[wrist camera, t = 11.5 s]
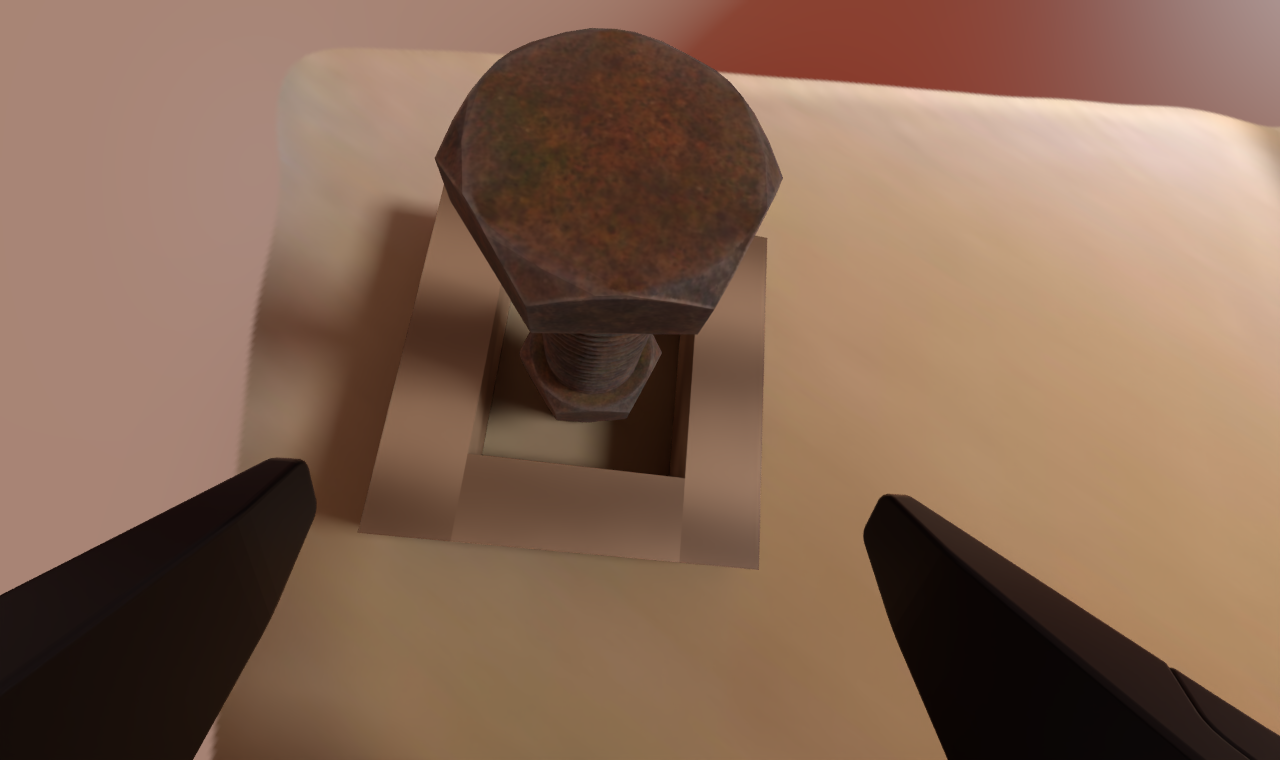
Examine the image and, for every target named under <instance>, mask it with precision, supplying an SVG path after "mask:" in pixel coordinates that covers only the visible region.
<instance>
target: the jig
mask: <svg viewBox="0 0 1280 760" xmlns="http://www.w3.org/2000/svg"><path fill="white" fill-rule="evenodd" d="M766 262H767V238H764V237H759V236H754V238H753V240H752V242H751V244H750V246H749V248H748V250H747V252H746V254H745V256H744V257H743V259H742V261H741V263H740V265H739V267H738V269H737V271H736V272H735V274H734V276H733V278H732V280H731V281H730V283H729V285H728V287H727V288H726V290H725V292H724V294H723V295H722V297H721V299H720V301H719V302H718V304H717V306H716V308H715V309H714V311H713V312H712V314H711V315H710V317H709V318H708V320H707V321H706V323H705V324H704V326H703V327H702V329H701V330H700V332H699V333H698V335H696V334H680V341H679V354H678V367H677V380H676V393H675V406H674V418H673V431H672V444H671V457H670V470H669V476H661V475H652V474H643V473H634V472H626V471H617V470H608V469H599V468H591V467H582V466H573V465H564V464H556V463H547V462H538V461H529V460H521V459H512V458H503V457H494V456H485V455H482V451H483V445H484V440H485V435H486V429H487V424H488V419H489V413H490V408H491V403H492V397H493V392H494V387H495V381H496V376H497V371H498V365H499V360H500V355H501V349H502V344H503V339H504V333H505V328H506V323H507V317H508V312H509V307H510V301H511V300H510V298H509V296H508V295H507V293H506V292H505V290H504V288H503V287H502V285H501V283H500V282H499V280H498V278H497V277H496V275H495V273H494V272H493V270H492V269H491V267H490V265H489V264H488V262H487V260H486V259H485V257H484V255H483V254H482V252H481V251H480V249H479V247H478V246H477V244H476V242H475V241H474V239H473V237H472V236H471V234H470V232H469V231H468V229H467V228H466V226H465V224H464V223H463V221H462V219H461V218H460V216H459V214H458V213H457V211H456V209H455V208H454V206H453V205H452V203H451V201H450V199H449V196H448V194H447V191H446V188H445V185H444V187H443V191H442V195H441V199H440V203H439V207H438V211H437V215H436V219H435V223H434V227H433V231H432V235H431V239H430V243H429V247H428V251H427V255H426V260H425V264H424V268H423V272H422V276H421V280H420V284H419V288H418V292H417V296H416V300H415V304H414V308H413V312H412V316H411V320H410V324H409V328H408V332H407V336H406V340H405V344H404V348H403V352H402V356H401V360H400V364H399V368H398V372H397V376H396V380H395V384H394V388H393V392H392V396H391V400H390V405H389V409H388V413H387V417H386V421H385V425H384V429H383V433H382V437H381V441H380V445H379V449H378V453H377V457H376V461H375V465H374V469H373V473H372V477H371V481H370V485H369V489H368V493H367V497H366V501H365V505H364V509H363V513H362V517H361V521H360V525H359V529H358V533H367V534H378V535H389V536H399V537H410V538H421V539H432V540H443V541H453V542H464V543H475V544H486V545H497V546H507V547H518V548H529V549H540V550H551V551H561V552H572V553H583V554H594V555H605V556H615V557H626V558H637V559H648V560H658V561H669V562H680V563H691V564H702V565H712V566H723V567H734V568H745V569H756V570H759V542H760V502H761V462H762V422H763V382H764V342H765V302H766Z"/></svg>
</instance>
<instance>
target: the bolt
mask: <svg viewBox="0 0 1280 760" xmlns="http://www.w3.org/2000/svg"><path fill="white" fill-rule="evenodd" d="M435 160H436V163H437V166H438V169H439V171H440V174H441V177H442V180H443V182H444V185H445V188H446V191H447V194H448V196H449V199H450V201H451V203H452V205H453V206H454V208H455V209H456V211H457V213H458V214H459V216H460V218H461V219H462V221H463V223H464V224H465V226H466V228H467V229H468V231H469V232H470V234H471V236H472V237H473V239H474V241H475V242H476V244H477V246H478V247H479V249H480V251H481V252H482V254H483V255H484V257H485V259H486V260H487V262H488V264H489V265H490V267H491V269H492V270H493V272H494V273H495V275H496V277H497V278H498V280H499V282H500V283H501V285H502V287H503V288H504V290H505V292H506V293H507V295H508V296H509V298H510V300H511V301H512V303H513V305H514V306H515V308H516V310H517V311H518V313H519V314H520V316H521V318H522V319H523V321H524V323H525V324H526V326H527V328H528V329H529V331H530V333H529V335H528V336H527V338H526V340H525V342H524V344H523V346H522V348H521V350H520V352H519V354H520V357H521V360H522V363H523V365H524V367H525V368H526V370H527V372H528V374H529V376H530V377H531V379H532V381H533V383H534V384H535V386H536V388H537V389H538V391H539V393H540V395H541V396H542V398H543V399H544V401H545V403H546V404H547V406H548V408H549V409H550V411H551V412H552V414H553V415H554V417H555V418H556V420H565V421H579V422H596V421H608V420H618V419H626V418H627V416H628V415H629V413H630V411H631V409H632V407H633V406H634V404H635V402H636V400H637V398H638V397H639V395H640V393H641V391H642V389H643V387H644V386H645V384H646V382H647V380H648V378H649V376H650V374H651V373H652V371H653V369H654V367H655V365H656V363H657V361H658V359H659V358H660V356H661V354H662V352H661V350H660V348H659V346H658V344H657V342H656V340H655V338H654V336H653V334H696V335H698V333H699V332H700V330H701V329H702V327H703V326H704V324H705V323H706V321H707V320H708V318H709V317H710V315H711V314H712V312H713V311H714V309H715V308H716V306H717V304H718V302H719V301H720V299H721V297H722V295H723V294H724V292H725V290H726V288H727V287H728V285H729V283H730V281H731V280H732V278H733V276H734V274H735V272H736V271H737V269H738V267H739V265H740V263H741V261H742V259H743V257H744V256H745V254H746V252H747V250H748V248H749V246H750V244H751V242H752V240H753V238H754V236H755V234H756V233H757V231H758V229H759V227H760V225H761V223H762V221H763V219H764V217H765V215H766V213H767V211H768V209H769V207H770V205H771V203H772V201H773V199H774V197H775V195H776V193H777V191H778V188H779V186H780V184H781V181H782V179H783V177H782V174H781V171H780V169H779V166H778V164H777V161H776V159H775V156H774V153H773V151H772V148H771V146H770V143H769V141H768V139H767V137H766V135H765V133H764V131H763V129H762V127H761V125H760V123H759V121H758V119H757V117H756V116H755V114H754V112H753V111H752V109H751V108H750V107H749V105H748V104H747V102H746V101H745V100H744V98H743V97H742V96H741V94H740V93H739V92H738V91H737V90H736V89H735V87H734V86H733V85H732V84H731V83H730V82H729V81H728V80H727V79H726V78H724V77H723V76H722V75H721V74H719V73H718V72H717V71H716V70H714V69H712V68H711V67H709V66H707V65H705V64H704V63H702V62H700V61H698V60H696V59H695V58H693V57H691V56H689V55H687V54H686V53H684V52H682V51H680V50H678V49H676V48H674V47H672V46H670V45H668V44H666V43H664V42H662V41H660V40H657V39H654V38H651V37H647V36H645V35H642V34H639V33H636V32H631V31H625V30H618V29H598V28H597V29H596V28H589V29H583V30H576V31H570V32H565V33H561V34H557V35H554V36H551V37H547V38H544V39H540V40H537V41H533V42H531V43H528V44H526V45H524V46H521V47H519V48H517V49H515V50H513V51H510V52H509V53H508V54H506V55H505V56H504V57H502V58H501V59H499V60H498V61H497V62H496V63H495V64H494V65H493V66H492V67H491V68H490V69H489V70H488V71H487V72H486V73H485V74H484V75H483V76H482V77H481V79H480V80H479V81H478V82H477V84H476V85H475V86H474V87H473V88H472V90H471V91H470V92H469V94H468V95H467V97H466V99H465V100H464V102H463V104H462V105H461V107H460V109H459V110H458V112H457V114H456V115H455V117H454V119H453V120H452V122H451V125H450V127H449V129H448V131H447V133H446V135H445V137H444V140H443V142H442V144H441V146H440V148H439V150H438V152H437V154H436V157H435Z"/></svg>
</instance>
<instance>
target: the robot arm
mask: <svg viewBox="0 0 1280 760" xmlns="http://www.w3.org/2000/svg"><path fill="white" fill-rule="evenodd" d="M315 513H316V497H315V493H314V489H313V485H312V481H311V476H310V472H309V468H308V465H307V464H306V462H305V461H303V460H301V459H292V458H270V459H268V460H266V461H263V462H261V463H260V464H258V465H256V466H254V467H252V468H250V469H248V470H246V471H244V472H242V473H240V474H238V475H236V476H234V477H232V478H230V479H228V480H226V481H224V482H222V483H220V484H218V485H216V486H214V487H212V488H210V489H208V490H207V491H204V492H202V493H201V494H199V495H197V496H195V497H193V498H191V499H189V500H187V501H185V502H183V503H181V504H179V505H177V506H175V507H173V508H171V509H169V510H167V511H165V512H163V513H161V514H159V515H157V516H155V517H153V518H151V519H149V520H148V521H145V522H144V523H142V524H140V525H138V526H136V527H134V528H132V529H130V530H128V531H126V532H124V533H122V534H120V535H118V536H116V537H114V538H112V539H110V540H108V541H106V542H105V543H102V544H100V545H98V546H96V547H94V548H92V549H90V550H89V551H87V552H85V553H83V554H81V555H79V556H77V557H75V558H73V559H71V560H69V561H67V562H65V563H63V564H61V565H59V566H57V567H55V568H53V569H51V570H49V571H47V572H45V573H43V574H41V575H39V576H37V577H35V578H33V579H31V580H29V581H27V582H25V583H24V584H21V585H20V586H18V587H16V588H14V589H12V590H10V591H8V592H6V593H4V594H2V595H0V760H193V759H194V757H195V755H196V753H197V752H198V750H199V748H200V746H201V744H202V743H203V740H204V739H205V737H206V735H207V734H208V732H209V730H210V728H211V726H212V725H213V723H214V721H215V719H216V717H217V716H218V714H219V712H220V710H221V708H222V707H223V705H224V703H225V701H226V699H227V698H228V696H229V694H230V692H231V690H232V689H233V687H234V685H235V683H236V681H237V680H238V678H239V676H240V674H241V672H242V671H243V669H244V667H245V665H246V663H247V662H248V660H249V658H250V656H251V654H252V653H253V651H254V649H255V647H256V645H257V644H258V642H259V640H260V638H261V636H262V634H263V633H264V631H265V629H266V627H267V625H268V623H269V621H270V619H271V617H272V615H273V613H274V611H275V608H276V606H277V604H278V602H279V600H280V597H281V595H282V592H283V590H284V588H285V585H286V583H287V581H288V578H289V576H290V574H291V571H292V569H293V567H294V564H295V562H296V559H297V557H298V555H299V552H300V550H301V548H302V545H303V543H304V541H305V538H306V536H307V533H308V531H309V529H310V526H311V524H312V522H313V519H314V517H315ZM863 537H864V544H865V547H866V550H867V553H868V556H869V559H870V562H871V566H872V569H873V572H874V575H875V578H876V581H877V584H878V587H879V591H880V594H881V597H882V600H883V603H884V606H885V609H886V612H887V615H888V618H889V621H890V624H891V627H892V630H893V632H894V635H895V637H896V640H897V642H898V645H899V647H900V649H901V652H902V654H903V656H904V659H905V661H906V663H907V666H908V668H909V670H910V673H911V675H912V677H913V680H914V682H915V684H916V687H917V689H918V692H919V694H920V696H921V699H922V701H923V703H924V706H925V708H926V710H927V713H928V715H929V717H930V720H931V722H932V724H933V727H934V729H935V731H936V734H937V736H938V738H939V741H940V743H941V745H942V748H943V750H944V752H945V755H946V757H947V759H948V760H1280V736H1279V735H1278V734H1276V733H1274V732H1273V731H1271V730H1269V729H1268V728H1266V727H1265V726H1263V725H1262V724H1260V723H1258V722H1257V721H1255V720H1254V719H1252V718H1251V717H1249V716H1247V715H1246V714H1244V713H1243V712H1241V711H1240V710H1238V709H1236V708H1235V707H1233V706H1232V705H1230V704H1229V703H1227V702H1225V701H1224V700H1222V699H1221V698H1219V697H1218V696H1216V695H1215V694H1213V693H1211V692H1210V691H1208V690H1207V689H1205V688H1204V687H1202V686H1201V685H1199V684H1198V683H1196V682H1195V681H1193V680H1191V679H1190V678H1188V677H1187V676H1185V675H1184V674H1182V673H1181V672H1179V671H1178V670H1176V669H1174V668H1169V667H1168V665H1167V664H1166V663H1165V662H1164V661H1162V660H1161V659H1159V658H1158V657H1156V656H1154V655H1153V654H1151V653H1150V652H1148V651H1147V650H1145V649H1144V648H1142V647H1141V646H1139V645H1138V644H1136V643H1135V642H1133V641H1131V640H1130V639H1128V638H1127V637H1125V636H1124V635H1122V634H1121V633H1119V632H1118V631H1116V630H1115V629H1113V628H1112V627H1110V626H1108V625H1107V624H1105V623H1104V622H1102V621H1101V620H1099V619H1098V618H1096V617H1095V616H1093V615H1092V614H1090V613H1089V612H1087V611H1085V610H1084V609H1082V608H1081V607H1079V606H1078V605H1076V604H1075V603H1073V602H1072V601H1070V600H1069V599H1067V598H1066V597H1064V596H1062V595H1061V594H1059V593H1058V592H1056V591H1055V590H1053V589H1052V588H1050V587H1049V586H1047V585H1046V584H1044V583H1043V582H1041V581H1039V580H1038V579H1036V578H1035V577H1033V576H1032V575H1030V574H1029V573H1027V572H1026V571H1024V570H1023V569H1021V568H1020V567H1018V566H1016V565H1015V564H1013V563H1012V562H1010V561H1009V560H1007V559H1006V558H1004V557H1003V556H1001V555H1000V554H998V553H997V552H995V551H993V550H992V549H990V548H989V547H987V546H986V545H984V544H983V543H981V542H980V541H978V540H977V539H975V538H974V537H972V536H970V535H969V534H967V533H966V532H964V531H963V530H961V529H960V528H958V527H957V526H955V525H954V524H952V523H951V522H949V521H947V520H946V519H944V518H943V517H941V516H940V515H938V514H937V513H935V512H934V511H932V510H931V509H929V508H928V507H926V506H924V505H923V504H921V503H920V502H918V501H917V500H915V499H914V498H912V497H910V496H907V495H898V494H885V495H883V496H882V497H881V498H880V499H879V500H878V502H877V504H876V506H875V508H874V510H873V512H872V514H871V516H870V518H869V520H868V522H867V524H866V526H865V528H864V535H863Z"/></svg>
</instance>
